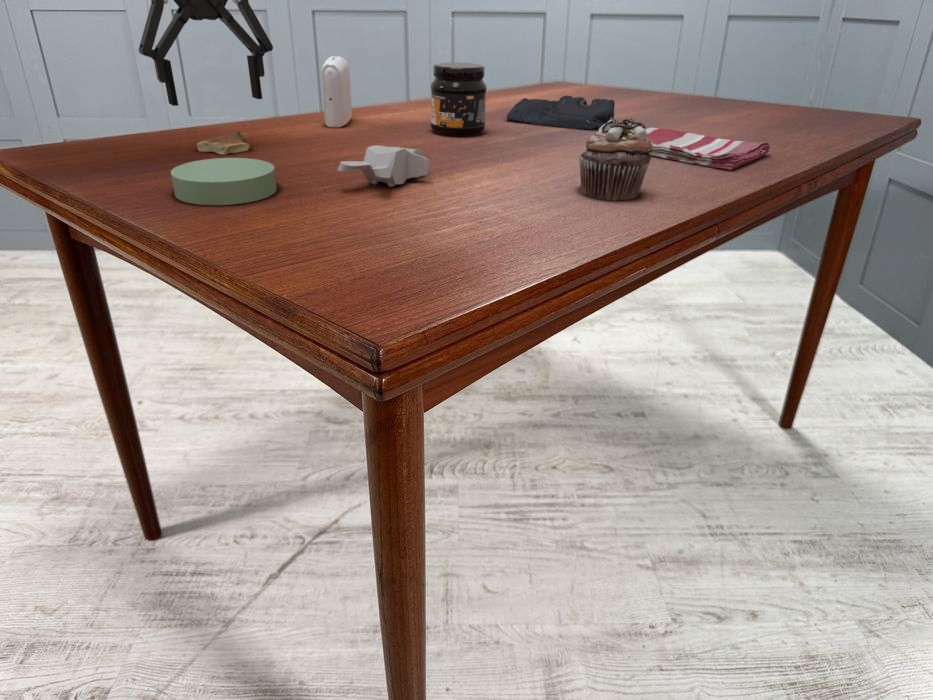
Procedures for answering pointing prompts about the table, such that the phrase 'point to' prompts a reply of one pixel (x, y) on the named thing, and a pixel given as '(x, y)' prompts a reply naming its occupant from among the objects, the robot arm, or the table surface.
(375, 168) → the grey faceted piece
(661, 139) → the dish towel
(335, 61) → the photo printer
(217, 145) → the shard
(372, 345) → the table surface
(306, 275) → the table surface
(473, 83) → the supplement container
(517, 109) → the dark slate chunk
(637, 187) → the cupcake
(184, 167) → the disc
